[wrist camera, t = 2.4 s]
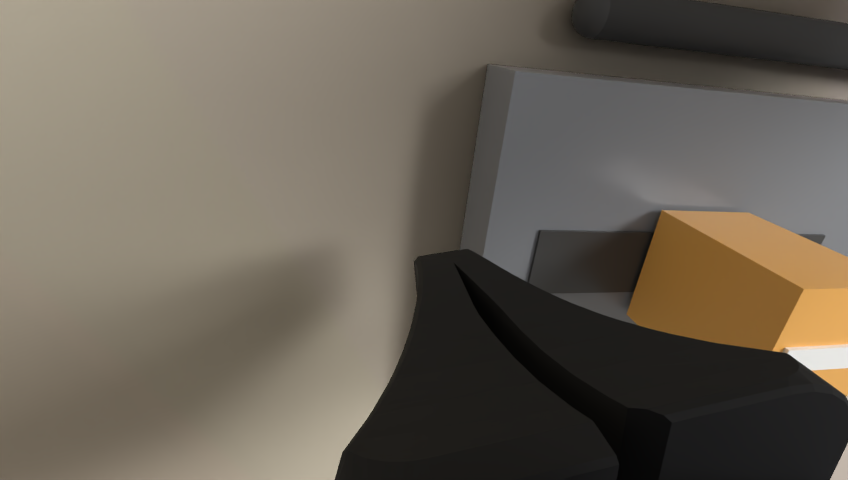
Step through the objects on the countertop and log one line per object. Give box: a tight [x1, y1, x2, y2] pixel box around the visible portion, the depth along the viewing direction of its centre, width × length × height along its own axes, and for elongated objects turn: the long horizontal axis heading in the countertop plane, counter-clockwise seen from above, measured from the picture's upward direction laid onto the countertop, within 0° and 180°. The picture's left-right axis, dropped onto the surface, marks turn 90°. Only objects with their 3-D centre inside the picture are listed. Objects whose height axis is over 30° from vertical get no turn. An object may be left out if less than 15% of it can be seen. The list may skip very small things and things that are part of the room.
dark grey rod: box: [572, 0, 848, 70], centre depth 13 cm, size 13×1×1 cm, turn 84°
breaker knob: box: [627, 210, 848, 396], centre depth 12 cm, size 3×4×4 cm
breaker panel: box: [460, 64, 848, 325], centre depth 15 cm, size 15×10×2 cm, turn 84°
